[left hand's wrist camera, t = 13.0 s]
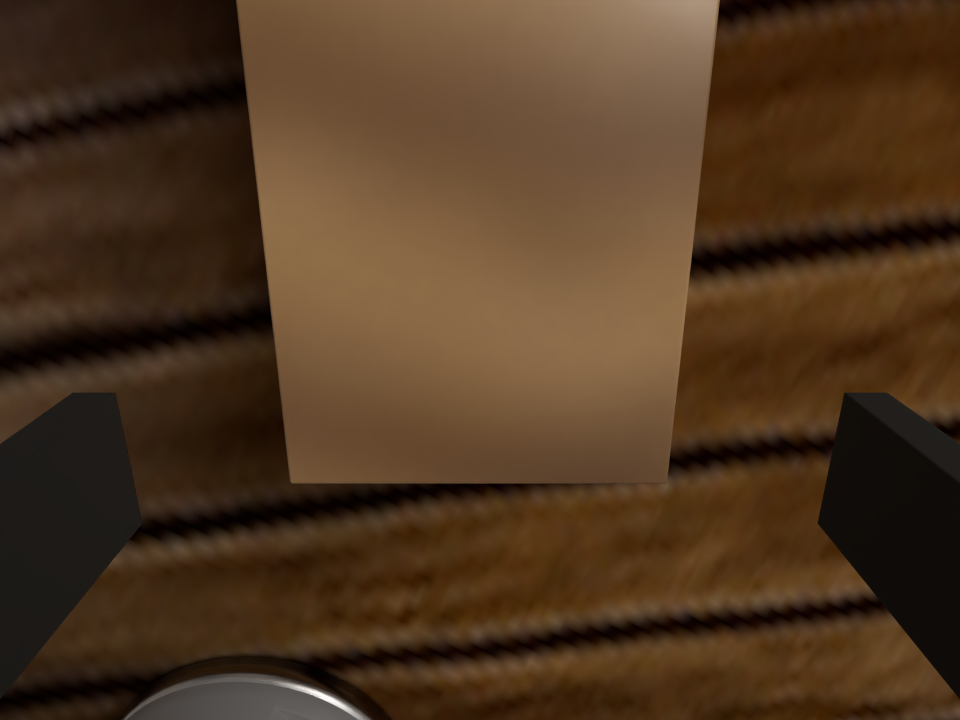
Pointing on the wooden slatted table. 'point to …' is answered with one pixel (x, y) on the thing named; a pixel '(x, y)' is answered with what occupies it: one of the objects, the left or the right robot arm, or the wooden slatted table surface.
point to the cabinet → (478, 231)
